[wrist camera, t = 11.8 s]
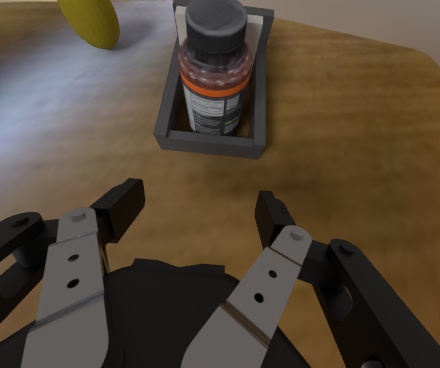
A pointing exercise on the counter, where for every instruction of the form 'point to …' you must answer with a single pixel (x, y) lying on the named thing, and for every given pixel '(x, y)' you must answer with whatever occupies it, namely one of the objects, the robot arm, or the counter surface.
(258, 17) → the plate
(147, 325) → the robot arm
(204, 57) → the supplement bottle
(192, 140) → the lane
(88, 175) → the counter surface
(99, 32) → the lemon
